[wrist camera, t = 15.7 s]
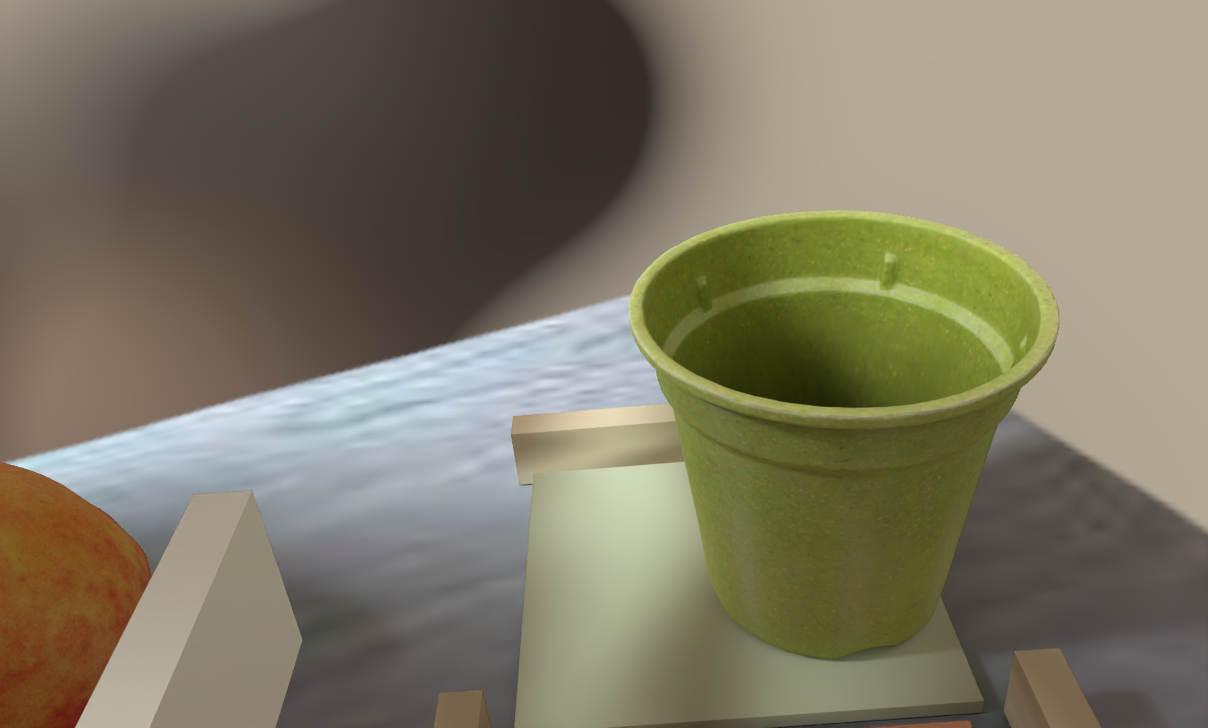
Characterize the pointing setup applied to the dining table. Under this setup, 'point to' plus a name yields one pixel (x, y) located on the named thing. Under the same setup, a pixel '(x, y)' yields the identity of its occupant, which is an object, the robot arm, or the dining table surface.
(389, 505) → the dining table surface
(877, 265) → the plant pot
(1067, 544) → the dining table surface
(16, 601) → the fruit
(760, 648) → the trap box
